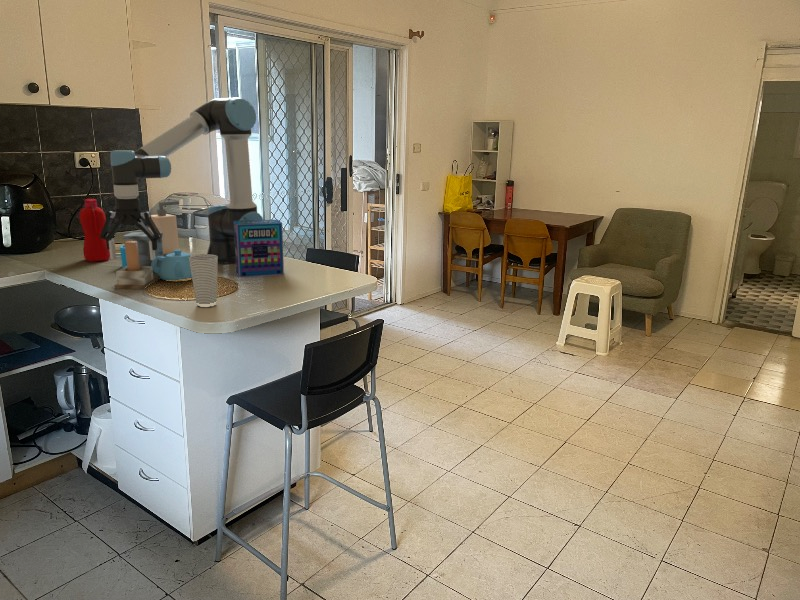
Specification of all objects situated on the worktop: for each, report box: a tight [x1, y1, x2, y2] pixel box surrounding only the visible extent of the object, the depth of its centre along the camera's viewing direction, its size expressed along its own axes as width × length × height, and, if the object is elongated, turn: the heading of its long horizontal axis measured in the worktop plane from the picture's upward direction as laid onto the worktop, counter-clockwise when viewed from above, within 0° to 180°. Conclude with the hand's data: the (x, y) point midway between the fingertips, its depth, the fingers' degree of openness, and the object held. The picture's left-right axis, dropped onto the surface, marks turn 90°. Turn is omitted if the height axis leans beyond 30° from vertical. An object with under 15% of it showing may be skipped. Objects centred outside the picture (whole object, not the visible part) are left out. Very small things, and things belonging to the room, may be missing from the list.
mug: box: [119, 244, 127, 269], centre depth 236 cm, size 12×8×8 cm
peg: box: [124, 240, 140, 271], centre depth 206 cm, size 4×4×14 cm
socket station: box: [114, 231, 164, 290], centre depth 211 cm, size 11×20×16 cm, turn 1°
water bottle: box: [78, 198, 111, 263], centre depth 242 cm, size 9×11×25 cm
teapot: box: [151, 249, 192, 281], centre depth 218 cm, size 15×15×11 cm
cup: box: [189, 253, 219, 304], centre depth 184 cm, size 8×8×16 cm
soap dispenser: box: [148, 200, 180, 255], centre depth 263 cm, size 13×9×22 cm
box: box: [234, 219, 285, 278], centre depth 226 cm, size 17×9×20 cm, turn 111°
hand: (133, 259), depth 206 cm, fingers open, 13 cm apart
